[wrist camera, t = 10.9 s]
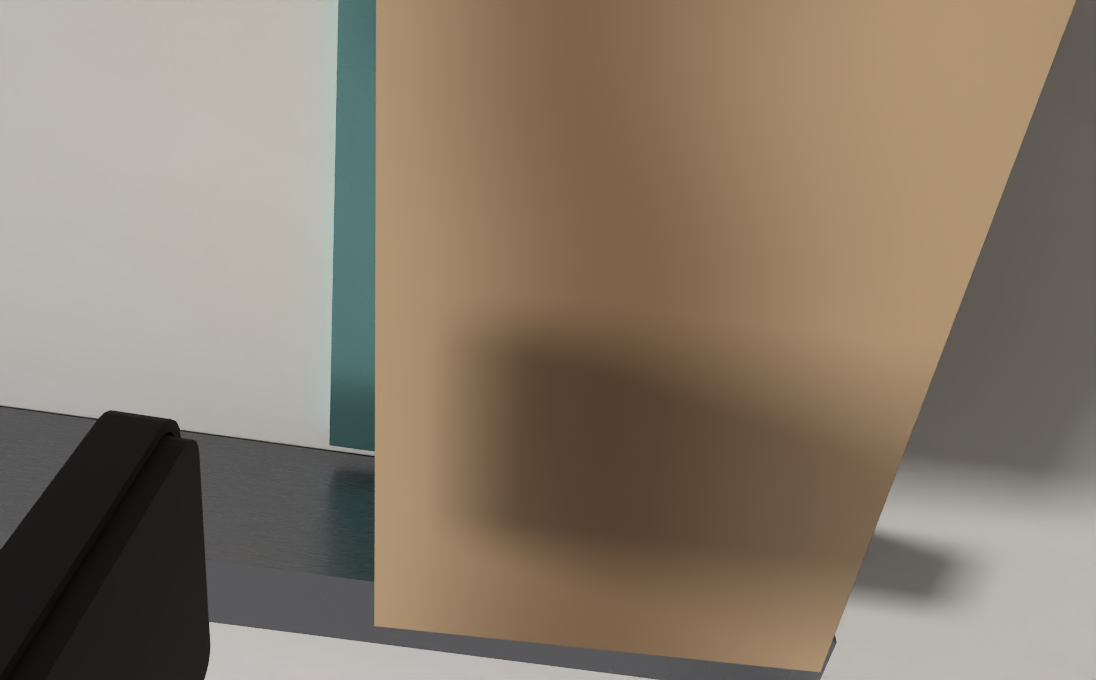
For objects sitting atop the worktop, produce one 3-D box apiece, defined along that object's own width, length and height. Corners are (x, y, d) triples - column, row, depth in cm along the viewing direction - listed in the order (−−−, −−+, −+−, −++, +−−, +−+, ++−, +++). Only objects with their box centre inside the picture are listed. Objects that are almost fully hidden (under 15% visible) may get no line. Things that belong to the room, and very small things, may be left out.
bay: (1167, -434, 11) (1325, -459, 9) (786, 570, 20) (811, 699, 18) (-998, -802, 10) (-1496, -945, 8) (-402, 412, 19) (-551, 524, 17)
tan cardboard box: (926, -117, 13) (1080, -11, 9) (770, 436, 18) (820, 672, 14) (451, -172, 13) (375, -91, 9) (429, 399, 18) (374, 625, 14)
